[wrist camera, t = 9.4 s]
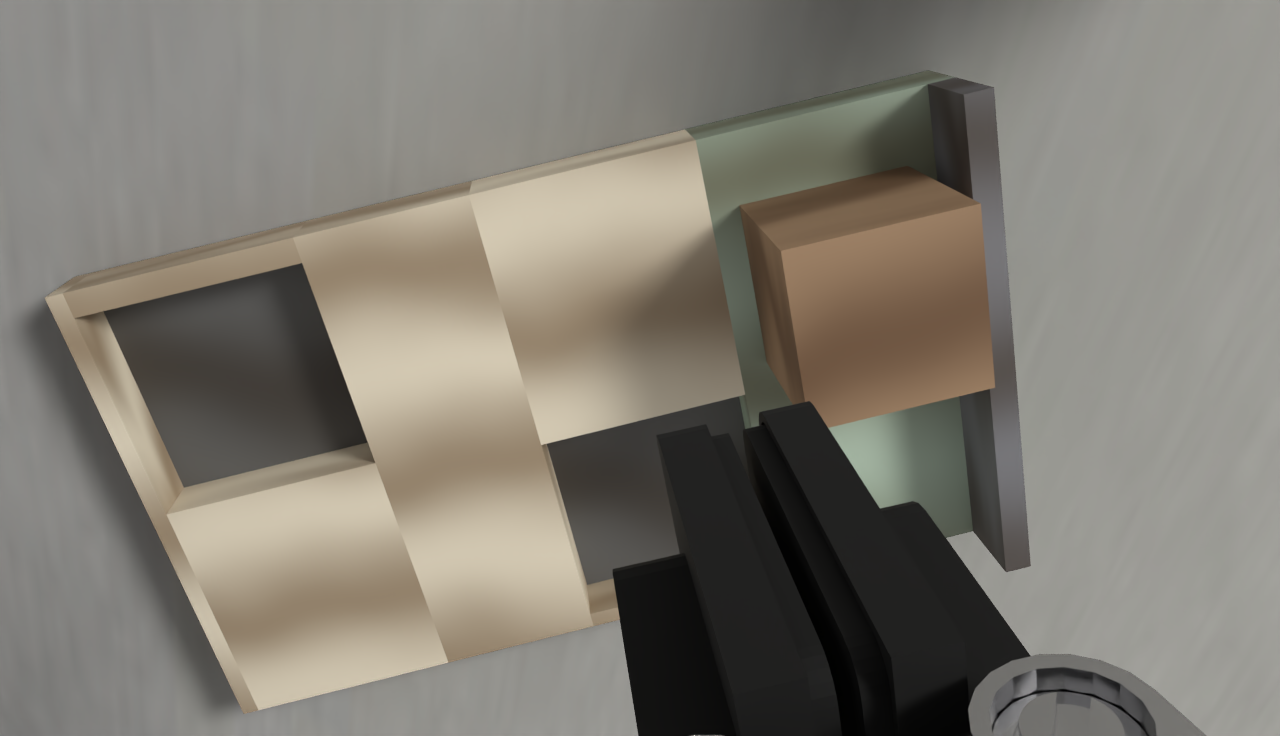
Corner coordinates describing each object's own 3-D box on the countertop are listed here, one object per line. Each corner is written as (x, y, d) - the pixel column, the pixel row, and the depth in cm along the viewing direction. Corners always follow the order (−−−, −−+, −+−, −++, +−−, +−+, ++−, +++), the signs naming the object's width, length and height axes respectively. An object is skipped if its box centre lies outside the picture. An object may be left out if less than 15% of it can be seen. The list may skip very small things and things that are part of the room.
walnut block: (739, 205, 29) (780, 251, 24) (907, 165, 29) (980, 203, 24) (766, 362, 31) (810, 432, 26) (924, 324, 31) (995, 387, 26)
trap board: (74, 276, 29) (1, 328, 25) (928, 70, 30) (993, 87, 26) (258, 674, 35) (222, 769, 31) (971, 496, 36) (1030, 566, 32)
